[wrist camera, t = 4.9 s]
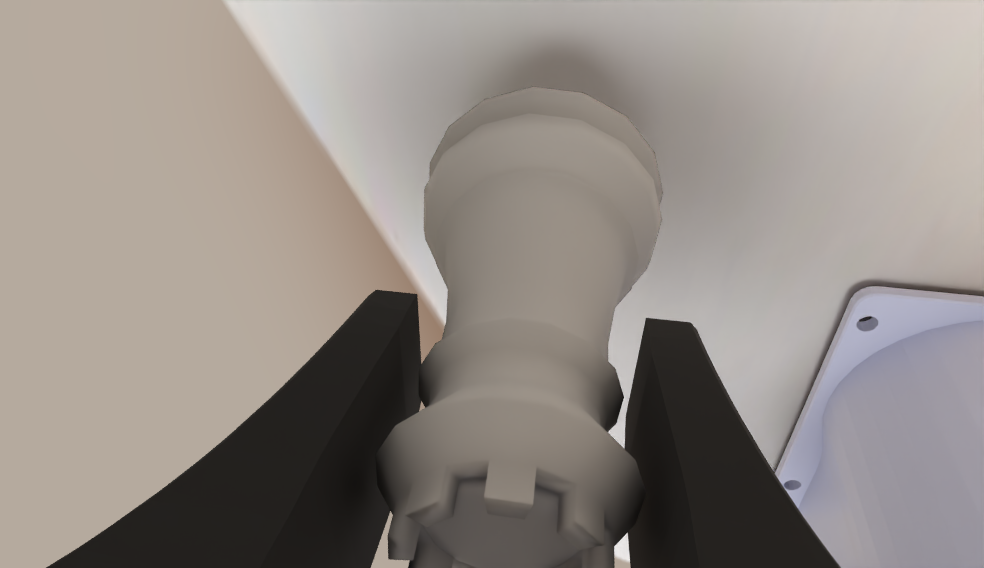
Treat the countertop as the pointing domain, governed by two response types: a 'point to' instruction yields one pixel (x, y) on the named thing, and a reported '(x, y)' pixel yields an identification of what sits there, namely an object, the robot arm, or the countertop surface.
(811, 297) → the countertop surface
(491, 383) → the rook chess piece
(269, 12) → the countertop surface
